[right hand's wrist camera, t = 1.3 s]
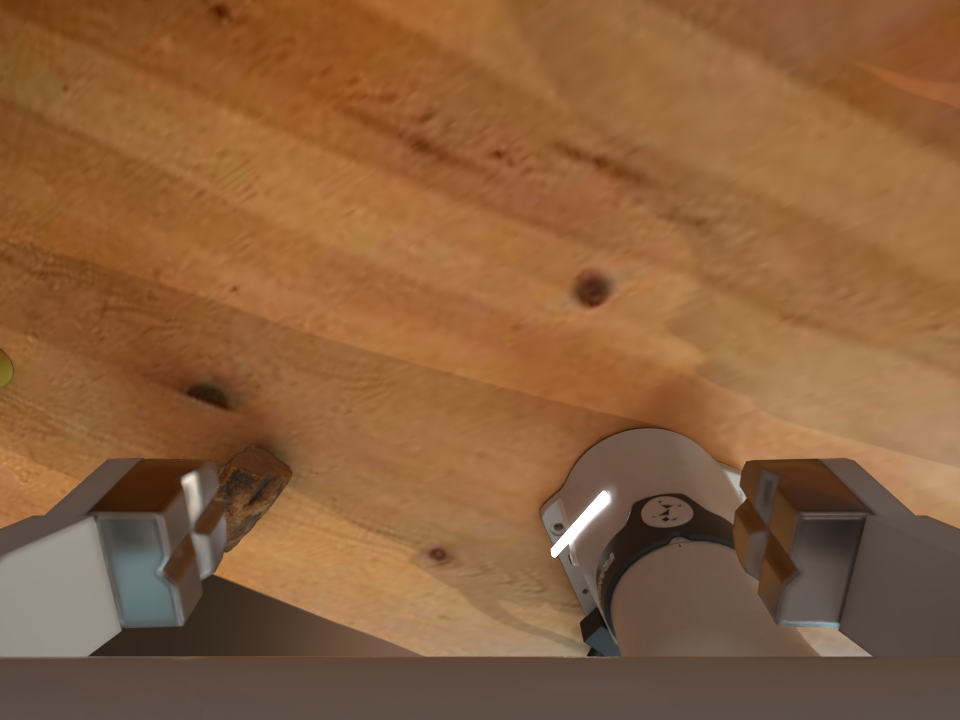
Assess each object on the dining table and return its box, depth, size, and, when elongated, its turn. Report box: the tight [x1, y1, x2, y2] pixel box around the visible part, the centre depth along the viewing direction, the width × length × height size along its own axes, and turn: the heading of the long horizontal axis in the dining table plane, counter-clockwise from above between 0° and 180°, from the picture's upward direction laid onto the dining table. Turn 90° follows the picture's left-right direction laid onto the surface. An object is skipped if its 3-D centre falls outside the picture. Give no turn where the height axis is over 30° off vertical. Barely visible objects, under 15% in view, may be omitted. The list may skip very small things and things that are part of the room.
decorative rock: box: [213, 444, 292, 552], centre depth 53 cm, size 12×6×11 cm, turn 134°
